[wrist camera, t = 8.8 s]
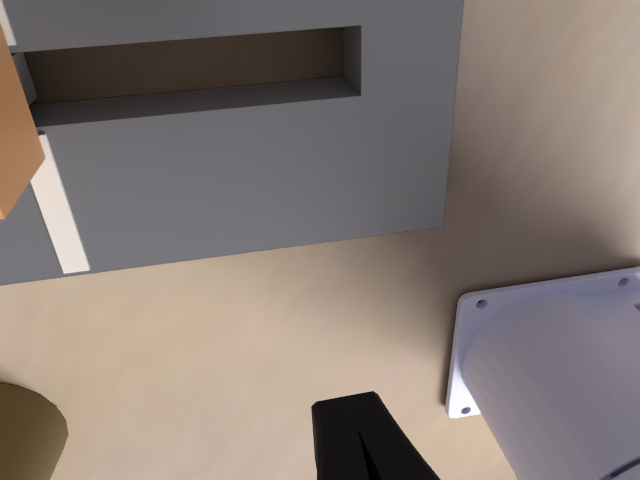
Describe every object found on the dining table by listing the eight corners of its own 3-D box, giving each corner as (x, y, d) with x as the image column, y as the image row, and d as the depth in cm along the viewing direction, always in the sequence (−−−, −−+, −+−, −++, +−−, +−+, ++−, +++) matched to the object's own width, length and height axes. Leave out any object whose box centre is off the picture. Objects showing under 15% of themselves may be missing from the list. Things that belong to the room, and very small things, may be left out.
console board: (445, -190, 15) (498, -214, 12) (420, 196, 21) (451, 237, 18) (-292, -172, 12) (-430, -196, 10) (-71, 258, 19) (-117, 315, 16)
